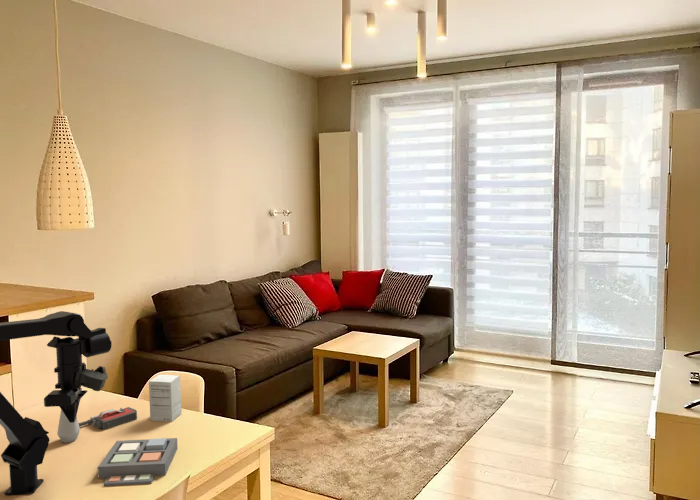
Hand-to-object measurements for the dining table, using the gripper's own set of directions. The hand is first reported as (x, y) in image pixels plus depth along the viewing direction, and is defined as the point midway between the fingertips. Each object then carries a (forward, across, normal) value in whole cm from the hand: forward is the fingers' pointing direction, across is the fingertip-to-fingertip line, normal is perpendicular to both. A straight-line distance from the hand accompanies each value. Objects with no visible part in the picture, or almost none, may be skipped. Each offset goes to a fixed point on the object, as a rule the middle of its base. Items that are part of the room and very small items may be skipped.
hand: (72, 422), depth 152 cm
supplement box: (+12, +34, -16) cm, 40 cm away
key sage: (+11, -2, -13) cm, 17 cm away
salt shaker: (+12, +19, +8) cm, 24 cm away
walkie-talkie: (+13, +30, +2) cm, 33 cm away
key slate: (+10, +4, -19) cm, 22 cm away
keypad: (+12, -1, -16) cm, 20 cm away
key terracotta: (+11, -3, -19) cm, 22 cm away
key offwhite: (+11, +5, -12) cm, 17 cm away
